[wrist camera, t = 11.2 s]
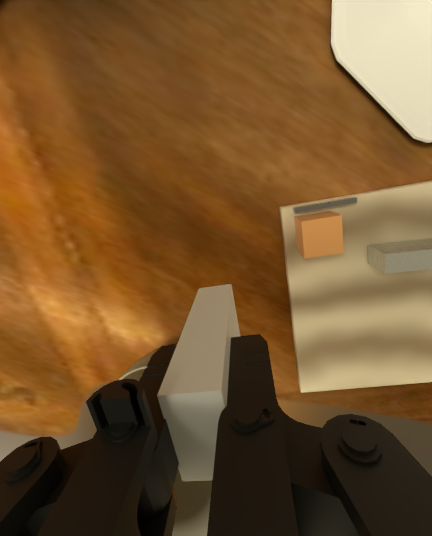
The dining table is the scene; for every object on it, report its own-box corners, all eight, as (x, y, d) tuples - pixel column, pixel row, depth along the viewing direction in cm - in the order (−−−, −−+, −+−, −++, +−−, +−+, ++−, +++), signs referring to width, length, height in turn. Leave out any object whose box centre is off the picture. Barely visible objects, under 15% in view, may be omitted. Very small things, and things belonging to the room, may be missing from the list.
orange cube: (293, 216, 24) (301, 221, 21) (329, 210, 23) (341, 215, 20) (296, 249, 25) (304, 258, 22) (331, 244, 24) (343, 253, 21)
